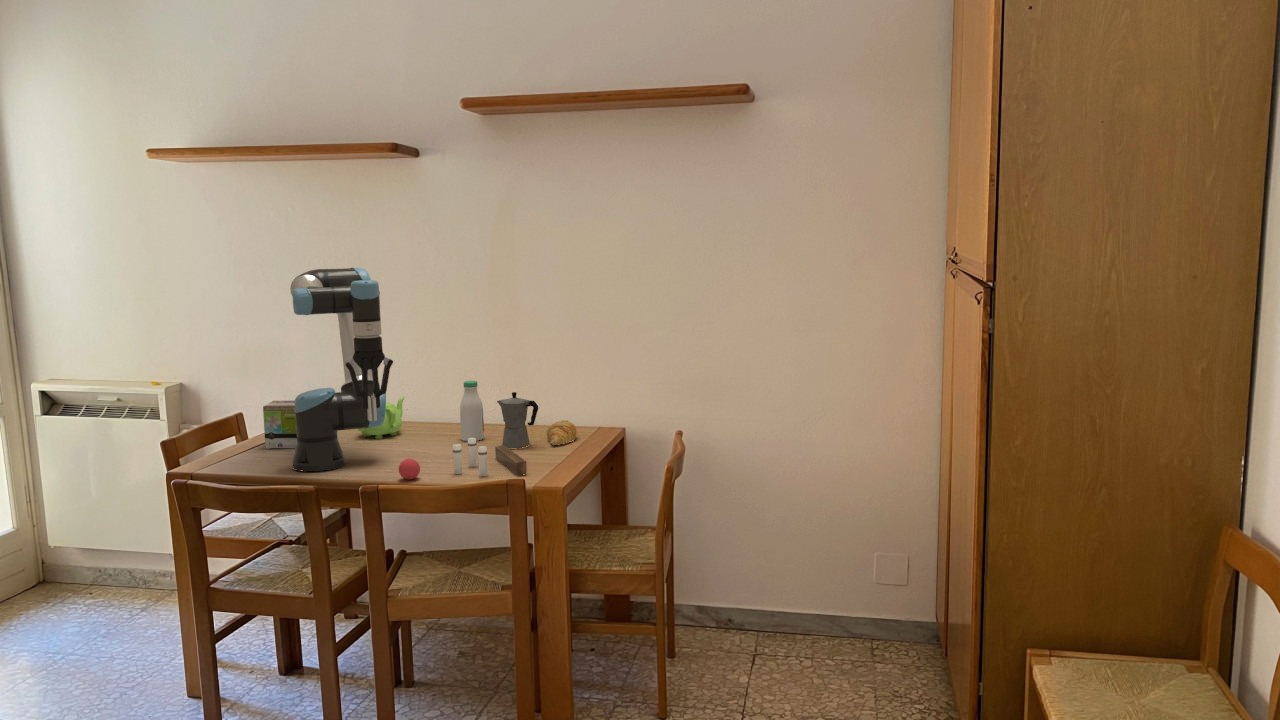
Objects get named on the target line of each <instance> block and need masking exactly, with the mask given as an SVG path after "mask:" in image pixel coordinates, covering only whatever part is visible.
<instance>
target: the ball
mask: <svg viewBox="0 0 1280 720" xmlns="http://www.w3.org/2000/svg"><path fill="white" fill-rule="evenodd" d="M420 472H421V466H420V463H419V462H418V461H417V460H416V459H414V458H406V459H404V460H402V461H401V462H400V463H399V466H398V474H399V475H400V476H401V478H402V479H405V480H414V479H415V478H417V477H418V476H419V475H420Z"/></svg>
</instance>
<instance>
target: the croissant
mask: <svg viewBox="0 0 1280 720" xmlns="http://www.w3.org/2000/svg"><path fill="white" fill-rule="evenodd" d="M545 434H546V437H547V440H548V441H549V443H550V442H551V443H550V445H551V444H552V445H558V444H563V443H566V442H569V441H572V440H575V441H576V438H577V427H576V426H575V425H574V423H572V422H570V421H569V420H559V421H558V422H555V423H552V424H551V425H550V426H549V427H548V428H547V430H546V433H545ZM552 445H551V446H552Z"/></svg>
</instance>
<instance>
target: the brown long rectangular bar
mask: <svg viewBox="0 0 1280 720" xmlns="http://www.w3.org/2000/svg"><path fill="white" fill-rule="evenodd" d="M496 459H497V460H498V462H499V463H500V464H501V463H502V464H503V465H502V464H501V465H502V466H504V467H505V468H506V467H507V468H508V469H507V468H506V469H507V470H509V471H510V472H511V473H513V475H515V476H516V475H521V476H524V475H523V474H526V473H527V461H526V460H525V459H523V457H521V456H519V455H518V454H517V453H515V452H514V451H513V450H512V449H509V448H507V447H506V446H502V445H498V446H495V460H496ZM497 460H496V461H497ZM527 474H528V473H527Z"/></svg>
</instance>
